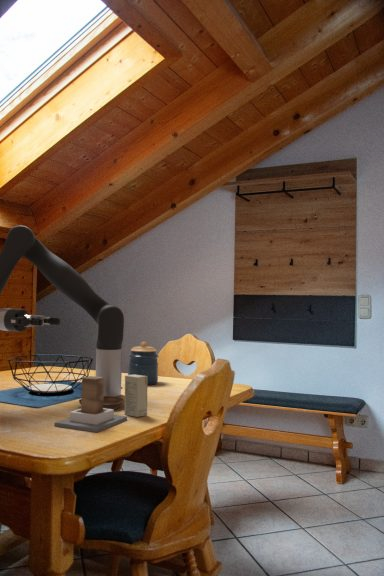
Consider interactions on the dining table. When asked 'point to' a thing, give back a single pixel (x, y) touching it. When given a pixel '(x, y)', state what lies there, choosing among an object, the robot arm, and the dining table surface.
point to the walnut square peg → (92, 395)
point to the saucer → (111, 402)
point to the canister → (144, 362)
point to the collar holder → (91, 420)
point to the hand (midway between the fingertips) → (51, 321)
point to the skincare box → (136, 395)
